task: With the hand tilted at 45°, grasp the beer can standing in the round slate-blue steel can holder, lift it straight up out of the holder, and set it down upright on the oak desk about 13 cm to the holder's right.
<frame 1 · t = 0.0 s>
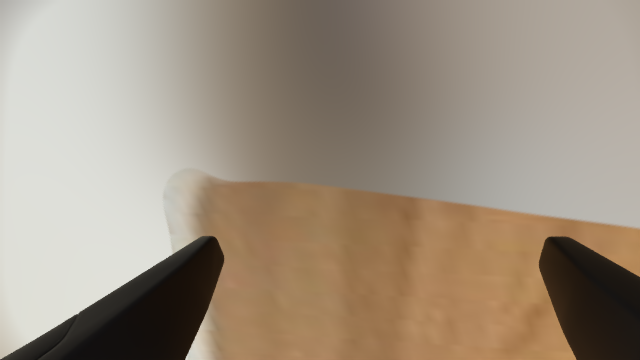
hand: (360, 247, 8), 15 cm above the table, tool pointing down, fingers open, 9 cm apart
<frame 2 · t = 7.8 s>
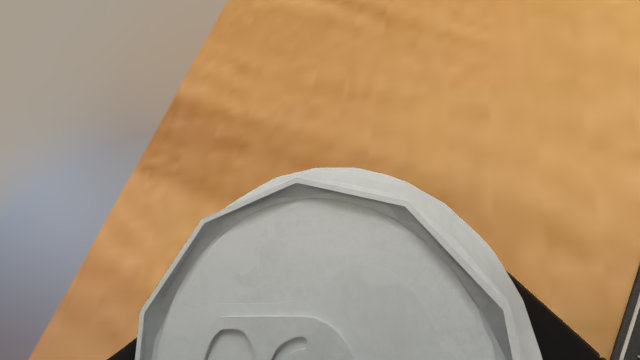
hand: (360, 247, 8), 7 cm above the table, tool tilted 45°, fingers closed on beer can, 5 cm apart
beer can: (375, 281, 14), on the table, touching gripper
when the fingers open (7 cm above the table, at t = 14.7 s): beer can stays where it is, on the table.
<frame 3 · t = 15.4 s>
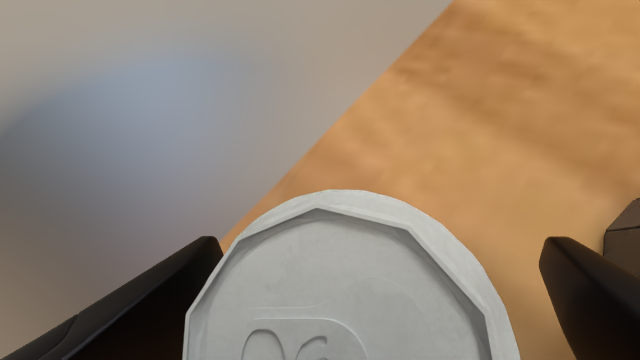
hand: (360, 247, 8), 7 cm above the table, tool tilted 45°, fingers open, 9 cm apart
beer can: (377, 283, 15), on the table
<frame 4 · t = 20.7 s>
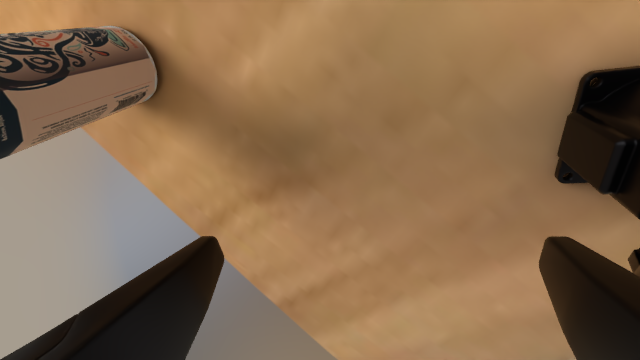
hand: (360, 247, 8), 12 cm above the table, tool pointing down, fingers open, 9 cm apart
beer can: (131, 64, 20), on the table
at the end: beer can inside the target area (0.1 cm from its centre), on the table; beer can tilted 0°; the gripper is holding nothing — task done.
